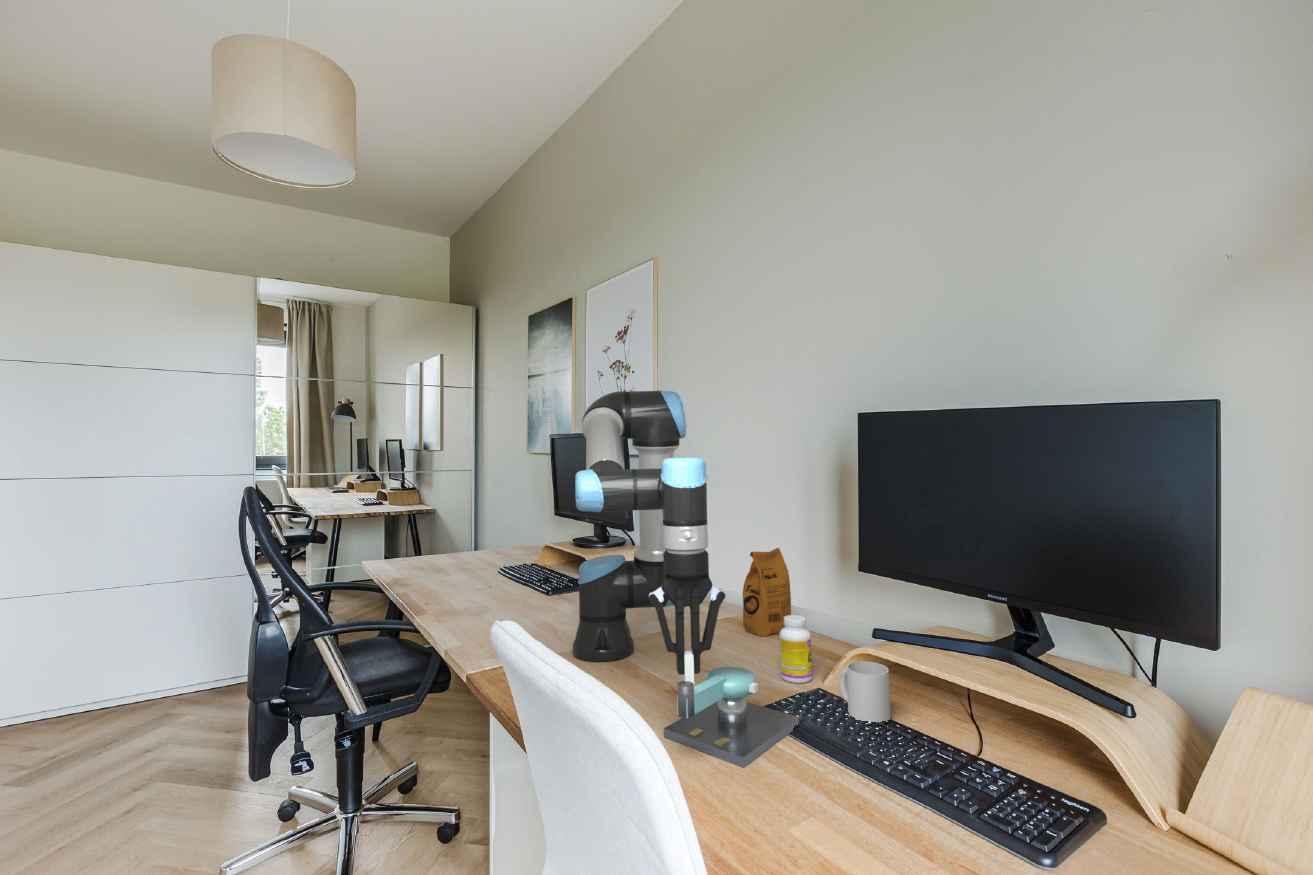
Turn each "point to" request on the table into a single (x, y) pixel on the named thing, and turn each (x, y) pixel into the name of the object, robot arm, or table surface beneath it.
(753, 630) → the coffee package
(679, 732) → the post base
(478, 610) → the table surface
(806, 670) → the supplement bottle
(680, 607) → the robot arm
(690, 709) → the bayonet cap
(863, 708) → the cup
